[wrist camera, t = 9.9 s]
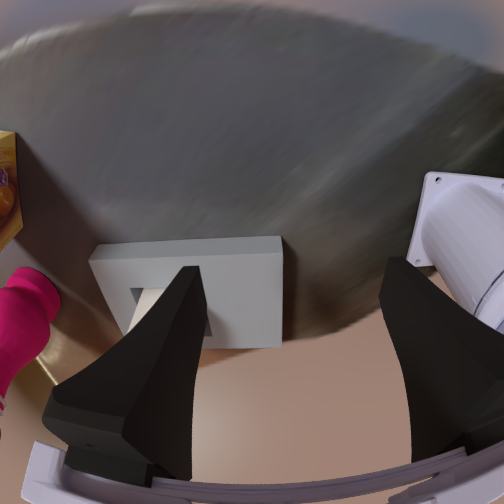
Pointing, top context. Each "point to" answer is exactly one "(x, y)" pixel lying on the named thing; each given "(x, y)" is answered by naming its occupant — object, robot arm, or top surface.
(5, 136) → the candy box
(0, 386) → the pepper mill
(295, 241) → the top surface
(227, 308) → the plate
